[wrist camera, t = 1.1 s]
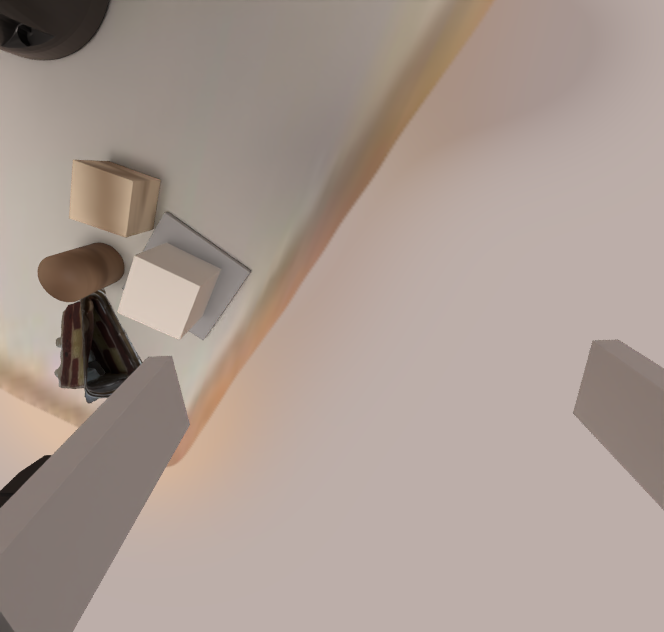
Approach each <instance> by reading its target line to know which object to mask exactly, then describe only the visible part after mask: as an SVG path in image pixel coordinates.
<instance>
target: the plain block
mask: <svg viewBox="0 0 664 632" xmlns="http://www.w3.org/2000/svg"><path fill="white" fill-rule="evenodd" d="M220 271H221V269H220V268H218V267H216V266H214V265H212V264H210V263H208V262H206V261H204V260H202V259H199V258H197V257H195V256H193V255H191V254H189V253H187V252H185V251H183V250H181V249H179V248H177V247H175V246H173V245H171V244H168V243H164V244H161V245H159V246H156V247H154V248H152V249H149V250H147V251H144V252H142V253H139V254H137V255H134V259H133V262H132V265H131V269H130V272H129V275H128V279H127V282H126V285H125V289H124V292H123V295H122V299H121V302H120V305H119V309H118V312H117V313H119V314H122V315H124V316H126V317H128V318H131V319H133V320H135V321H137V322H140V323H142V324H144V325H146V326H149V327H151V328H153V329H155V330H158V331H160V332H162V333H165V334H167V335H169V336H171V337H174V338H176V339H178V340H180V339H181V338H182V337H183V336H184V335H185V334H186V333H187V332H188V331H189V330H190V329H191V328H192V326H193V325H194V324H195V323H196V322H197V321H198V320H199V319H200V318H201V317H202V316H203V314H204V311H205V309H206V306H207V304H208V301H209V299H210V296H211V294H212V291H213V289H214V286H215V284H216V281H217V279H218V276H219V274H220Z"/></svg>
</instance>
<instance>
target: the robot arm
mask: <svg viewBox="0 0 664 632" xmlns="http://www.w3.org/2000/svg"><path fill="white" fill-rule="evenodd" d="M108 1H109V0H0V49H1V50H4V51H6V52H9V53H12V54H15V55H18V56H21V57H24V58H29V59H36V60H51V59H57V58H61V57H64V56H67V55H69V54H71V53H73V52H75V51H77V50H78V49H80V48H81V47H82V46H83V45H85V44H86V43H87V42H88V41H89V40H90V38H91V37H92V36H93V35H94V33H95V32H96V30H97V29H98V27H99V25H100V24H101V21H102V19H103V17H104V14H105V11H106V8H107V5H108ZM573 414H574V415H575V416H576V417H577V418H578V419H579V420H580V421H581V422H582V423H583V424H584V426H585V427H586V428H587V429H588V430H589V431H590V432H591V433H592V434H593V435H594V436H595V437H596V438H597V439H598V441H599V442H601V444H602V445H603V446H604V447H605V448H606V449H607V450H608V451H609V452H610V453H611V454H612V455H613V457H614V458H615V459H617V461H618V462H619V463H620V464H621V465H622V466H623V467H624V468H625V469H626V470H627V471H628V472H629V473H630V475H631V476H632V477H633V478H634V479H635V480H636V481H637V482H638V483H639V484H640V485H641V486H642V487H643V488H644V490H645V491H646V492H647V493H648V494H649V495H650V496H651V497H652V498H653V499H654V500H655V501H656V502H657V503H658V504H659V506H660V507H661V508H662V509H663V510H664V368H662V367H661V366H659V365H658V364H656V363H654V362H653V361H651V360H650V359H648V358H646V357H645V356H643V355H642V354H640V353H639V352H637V351H635V350H634V349H632V348H631V347H629V346H628V345H626V344H624V343H623V342H621V341H619V340H595V341H592V345H591V349H590V352H589V356H588V360H587V363H586V367H585V371H584V375H583V378H582V382H581V386H580V389H579V393H578V397H577V401H576V404H575V408H574V411H573ZM189 425H190V423H189V419H188V416H187V412H186V408H185V404H184V400H183V397H182V393H181V389H180V385H179V381H178V377H177V374H176V370H175V366H174V362H173V358H172V356H156V357H148V358H147V359H146V360H145V361H144V362H143V363H142V364H141V365H140V366H139V367H138V368H137V369H136V370H135V371H134V372H133V373H132V374H131V375H130V376H129V377H128V378H127V379H126V380H125V381H124V382H123V383H122V384H121V385H120V386H119V387H118V388H117V389H116V390H115V391H114V392H113V393H112V394H111V395H110V396H109V398H108V399H107V400H106V401H105V402H104V403H103V404H102V405H101V406H100V407H99V408H98V409H97V410H96V411H95V412H94V413H93V414H92V415H91V416H90V417H89V418H88V419H87V420H86V421H85V422H84V423H83V424H82V425H81V426H80V427H79V428H78V429H77V430H76V431H75V432H74V433H73V434H72V435H71V436H70V437H69V438H68V439H67V441H66V442H65V443H64V444H63V445H62V446H61V447H60V448H59V449H58V450H57V451H56V452H55V453H54V454H53V455H46V456H43V457H42V458H40V459H39V460H37V461H36V462H34V463H33V464H31V465H30V466H28V467H27V468H25V469H24V470H22V471H21V472H19V473H18V474H17V475H16V476H15V477H14V478H13V479H12V480H11V481H10V482H9V483H8V484H7V485H6V486H5V487H4V488H3V489H2V490H1V491H0V632H73V630H74V629H75V627H76V625H77V623H78V621H79V620H80V618H81V616H82V614H83V613H84V611H85V609H86V607H87V606H88V604H89V602H90V600H91V598H92V597H93V595H94V593H95V591H96V590H97V588H98V586H99V584H100V583H101V581H102V579H103V577H104V575H105V573H106V572H107V570H108V568H109V567H110V565H111V563H112V561H113V560H114V558H115V556H116V554H117V553H118V551H119V549H120V547H121V545H122V544H123V542H124V540H125V538H126V536H127V535H128V533H129V531H130V530H131V528H132V526H133V524H134V522H135V521H136V519H137V517H138V515H139V514H140V512H141V510H142V508H143V507H144V505H145V503H146V501H147V499H148V498H149V496H150V494H151V492H152V491H153V489H154V487H155V485H156V483H157V482H158V480H159V478H160V476H161V475H162V473H163V471H164V469H165V468H166V466H167V464H168V462H169V461H170V459H171V457H172V455H173V454H174V452H175V450H176V448H177V446H178V445H179V443H180V441H181V439H182V438H183V436H184V434H185V432H186V431H187V429H188V427H189Z"/></svg>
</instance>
